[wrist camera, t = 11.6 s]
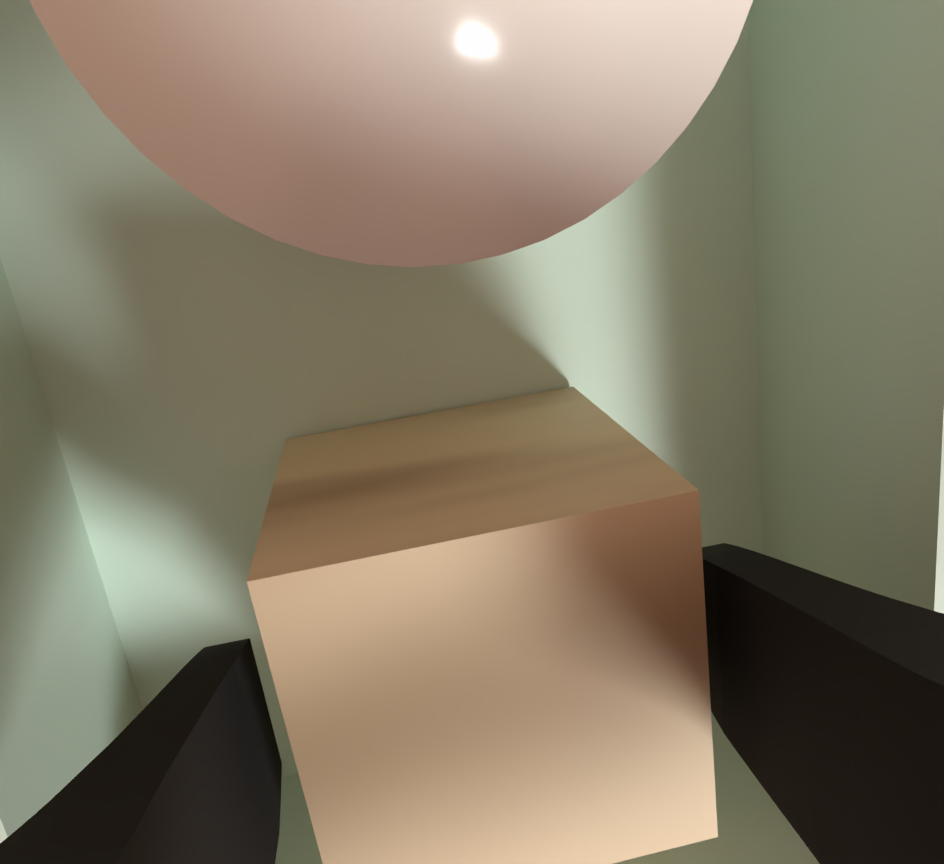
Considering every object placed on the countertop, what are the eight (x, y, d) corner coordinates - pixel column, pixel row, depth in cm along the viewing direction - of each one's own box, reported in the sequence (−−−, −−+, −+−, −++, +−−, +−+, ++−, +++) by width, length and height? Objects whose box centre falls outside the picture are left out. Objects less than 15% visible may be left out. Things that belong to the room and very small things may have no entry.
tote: (780, 676, 16) (957, 866, 11) (154, 815, 15) (61, 1097, 10) (760, -306, 11) (1057, -688, 6) (-188, -235, 10) (-691, -654, 5)
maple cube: (599, 632, 15) (718, 836, 10) (343, 688, 14) (341, 932, 9) (572, 386, 13) (698, 490, 8) (285, 439, 13) (246, 581, 8)
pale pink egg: (551, 217, 12) (781, 218, 6) (243, 259, 12) (100, 314, 5) (519, -137, 11) (776, -689, 4) (166, -109, 10) (-168, -690, 4)
